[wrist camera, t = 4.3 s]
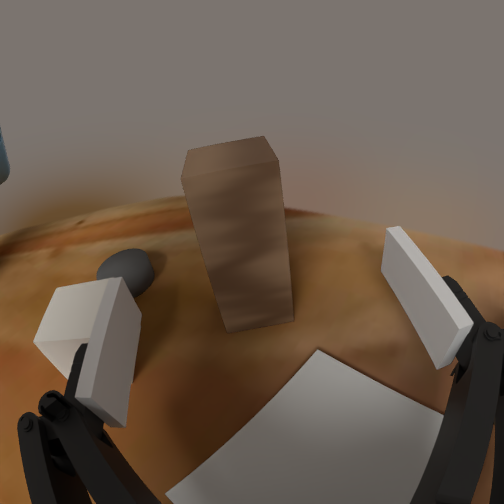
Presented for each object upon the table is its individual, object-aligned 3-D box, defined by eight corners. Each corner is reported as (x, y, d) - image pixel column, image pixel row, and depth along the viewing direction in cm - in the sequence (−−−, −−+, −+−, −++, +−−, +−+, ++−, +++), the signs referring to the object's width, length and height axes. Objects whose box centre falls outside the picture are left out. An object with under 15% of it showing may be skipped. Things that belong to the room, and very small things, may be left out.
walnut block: (227, 333, 20) (180, 178, 13) (223, 288, 24) (188, 150, 17) (294, 321, 20) (278, 160, 13) (281, 277, 24) (263, 136, 17)
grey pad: (168, 495, 11) (164, 493, 11) (317, 353, 18) (317, 349, 17) (352, 623, 4) (353, 626, 4) (484, 439, 10) (489, 436, 10)
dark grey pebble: (98, 286, 26) (89, 270, 25) (139, 259, 29) (132, 242, 28) (119, 311, 23) (109, 294, 22) (165, 279, 26) (158, 261, 25)
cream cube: (73, 385, 17) (33, 342, 14) (87, 333, 21) (56, 288, 18) (133, 384, 17) (95, 337, 14) (141, 326, 22) (113, 277, 19)
